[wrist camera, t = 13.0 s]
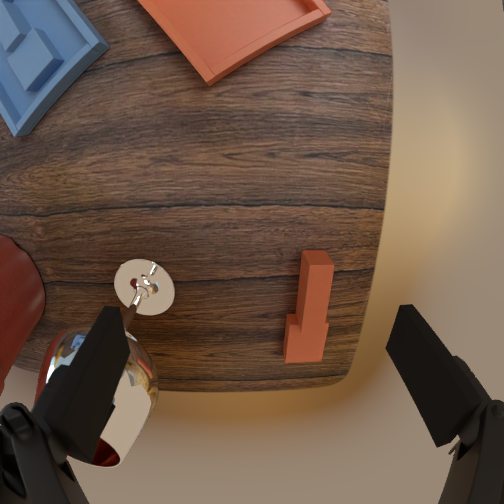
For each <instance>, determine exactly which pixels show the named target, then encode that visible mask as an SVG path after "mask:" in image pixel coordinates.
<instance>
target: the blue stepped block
mask: <svg viewBox="0 0 504 504" xmlns="http://www.w3.org/2000/svg"><path fill="white" fill-rule="evenodd" d="M0 42H1V44H2V46H3V48H4V50H5V51H8V52H12V53H11V54H10V55H9V56H8V58H7V60H8V62H9V64H10V66H11V67H12V69H13V71H14V73H15V74H16V76H17V78H18V80H19V81H20V83H21V85H22V86H23V88H24V90H25V91H35V92H37V91H38V90H39V89H40V88H41V86H42V85H43V84H44V83H45V82H46V81H47V79H48V78H49V77H50V76H51V75H52V74H53V73H54V72H55V70H56V69H57V68H58V67H59V66H60V65H61V64H62V63H63V62H64V59H63V58H62V56H61V55H60V54H59V52H58V51H57V49H56V48H55V46H54V45H53V43H52V42H51V40H50V39H49V37H48V36H47V35H46V33H45V32H44V31H43V30H40V29H37V28H34V27H33V28H31V26H30V25H29V23H28V22H27V20H26V19H25V17H24V15H23V14H22V12H21V11H20V9H19V7H18V6H17V5H15V4H12V3H9V2H7V1H4V0H0Z"/></svg>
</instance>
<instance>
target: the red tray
mask: <svg viewBox="0 0 504 504" xmlns="http://www.w3.org/2000/svg"><path fill="white" fill-rule="evenodd" d="M137 1H138V2H139V3H140V4H141V5H142V6H143V7H144V8H145V10H146V11H147V12H148V13H149V14H150V15H151V16H152V18H153V19H154V20H155V21H156V22H157V23H158V24H159V26H160V27H161V28H162V29H163V30H164V31H165V33H166V34H167V35H168V36H169V37H170V38H171V40H172V41H173V42H174V43H175V44H176V46H177V47H178V48H179V49H180V50H181V52H182V53H183V54H184V55H185V57H186V58H187V59H188V60H189V61H190V63H191V64H192V65H193V66H194V68H195V69H196V70H197V71H198V73H199V74H200V75H201V76H202V78H203V79H204V80H205V82H206V83H207V84H208V85H209V86H211V85H213V84H214V83H215V82H217V81H218V80H220V79H221V78H223V77H224V76H226V75H228V74H229V73H231V72H232V71H234V70H235V69H237V68H238V67H240V66H242V65H243V64H245V63H247V62H248V61H250V60H251V59H253V58H255V57H256V56H258V55H260V54H262V53H263V52H265V51H267V50H269V49H270V48H272V47H274V46H276V45H278V44H279V43H281V42H283V41H285V40H287V39H289V38H291V37H293V36H294V35H296V34H298V33H300V32H302V31H304V30H306V29H308V28H310V27H313V26H315V25H317V24H319V23H321V22H323V21H325V20H326V18H327V17H328V16H329V15H330V14H331V13H332V11H331V10H330V9H329V8H328V6H327V5H326V4H325V3H324V2H323V0H137Z"/></svg>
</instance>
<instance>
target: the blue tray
mask: <svg viewBox="0 0 504 504" xmlns="http://www.w3.org/2000/svg"><path fill="white" fill-rule="evenodd" d="M4 1H7V2H9V3H12V4H15V5H17V6H18V7H19V9H20V11H21V12H22V14H23V15H24V17H25V19H26V20H27V22H28V23H29V25H30V26H31V28H33V27H34V28H37V29H40V30H43V31H44V32H45V33H46V35H47V36H48V37H49V39H50V40H51V42H52V43H53V45H54V46H55V48H56V49H57V51H58V52H59V54H60V55H61V56H62V58H63V59H64V62H63V63H62V64H61V65H60V66H59V67H58V68H57V69H56V70H55V72H54V73H53V74H52V75H51V76H50V77H49V78H48V79H47V81H46V82H45V83H44V84H43V85H42V86H41V88H40V89H39V90H38V91H37V92H35V91H25V90H24V88H23V86H22V85H21V83H20V81H19V80H18V78H17V76H16V74H15V73H14V71H13V69H12V67H11V66H10V64H9V62H8V60H7V58H8V56H9V55H10V54H11V53H12V52H8V51H5V50H4V48H3V46H2V44H1V42H0V113H1V115H2V117H3V119H4V120H5V122H6V124H7V126H8V127H9V129H10V131H11V132H12V134H13V136H14V137H18V136H24V135H29V134H30V132H31V131H32V130H33V128H34V127H35V126H36V124H37V123H38V122H39V121H40V119H41V118H42V117H43V116H44V115H45V113H46V112H47V111H48V110H49V109H50V107H51V106H52V105H53V104H54V103H55V102H56V101H57V99H58V98H59V97H60V96H61V95H62V94H63V93H64V92H65V91H66V89H67V88H68V87H69V86H70V85H71V84H72V83H73V82H74V81H75V80H76V79H77V78H78V77H79V76H80V75H81V74H82V73H83V72H84V71H85V70H86V69H87V68H88V67H89V66H90V65H91V64H92V63H93V62H94V61H96V60H97V59H98V58H99V57H100V56H101V55H102V54H103V53H104V52H105V51H107V50H108V49H109V48H110V46H109V45H108V44H107V43H106V41H105V40H104V39H103V37H102V36H101V35H100V34H99V32H98V31H97V30H96V29H95V27H94V26H93V25H92V24H91V22H90V21H89V20H88V19H87V17H86V16H85V15H84V14H83V12H82V11H81V10H80V8H79V7H78V6H77V5H76V4H75V2H74V1H73V0H4Z"/></svg>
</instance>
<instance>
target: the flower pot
mask: <svg viewBox="0 0 504 504" xmlns="http://www.w3.org/2000/svg"><path fill="white" fill-rule="evenodd" d="M44 306H45V291H44V287H43V283H42V280H41V277H40V275H39V272H38V270H37V268H36V266H35V265H34V263H33V261H32V260H31V258H30V257H29V255H28V254H27V253H26V251H24V250H21V249H20V248H18V247H17V246H16V245H15V244H14V242H13V240H12V239H10V238H8V237H6V236H3V235H0V396H1V393H2V391H3V389H4V380H5V378H6V376H7V374H8V373H9V370H10V369H11V367H12V365H13V363H14V361H15V359H16V358H17V356H18V354H19V352H20V351H21V349H22V347H23V345H24V344H25V342H26V340H27V339H28V337H29V335H30V334H31V332H32V330H33V329H34V327H35V326H36V324H37V322H38V321H39V319H40V318H41V315H42V312H43V309H44Z"/></svg>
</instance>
